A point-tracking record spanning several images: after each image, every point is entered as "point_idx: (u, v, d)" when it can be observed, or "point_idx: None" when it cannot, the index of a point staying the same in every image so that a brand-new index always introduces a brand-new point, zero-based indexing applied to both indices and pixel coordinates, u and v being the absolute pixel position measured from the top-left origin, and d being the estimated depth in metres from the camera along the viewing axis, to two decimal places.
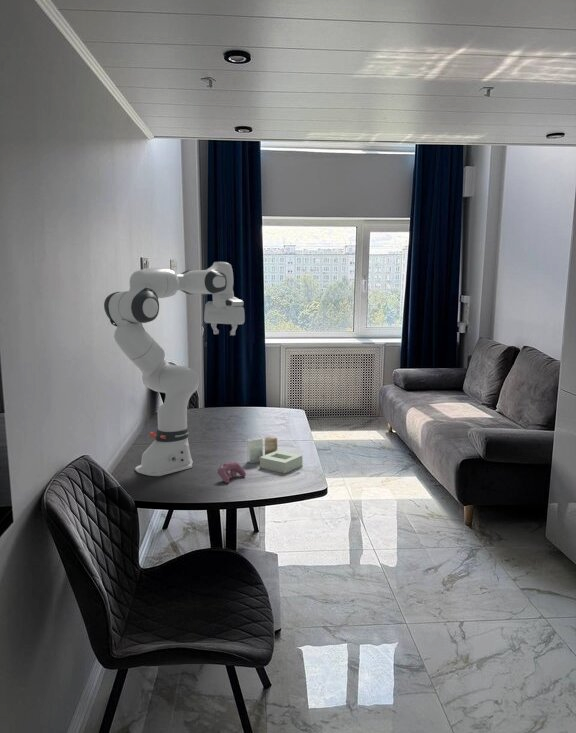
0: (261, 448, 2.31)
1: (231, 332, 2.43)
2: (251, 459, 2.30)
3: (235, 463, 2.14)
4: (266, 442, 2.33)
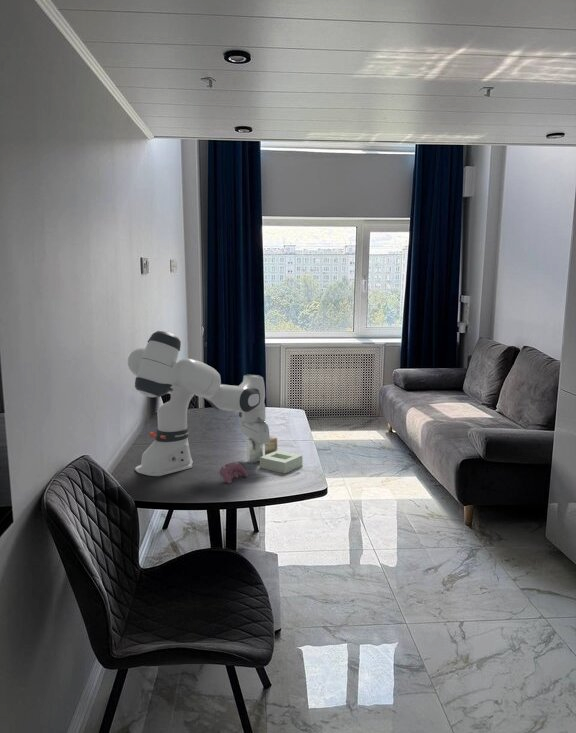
0: (261, 448, 2.31)
1: None
2: (251, 459, 2.30)
3: (237, 464, 2.13)
4: None
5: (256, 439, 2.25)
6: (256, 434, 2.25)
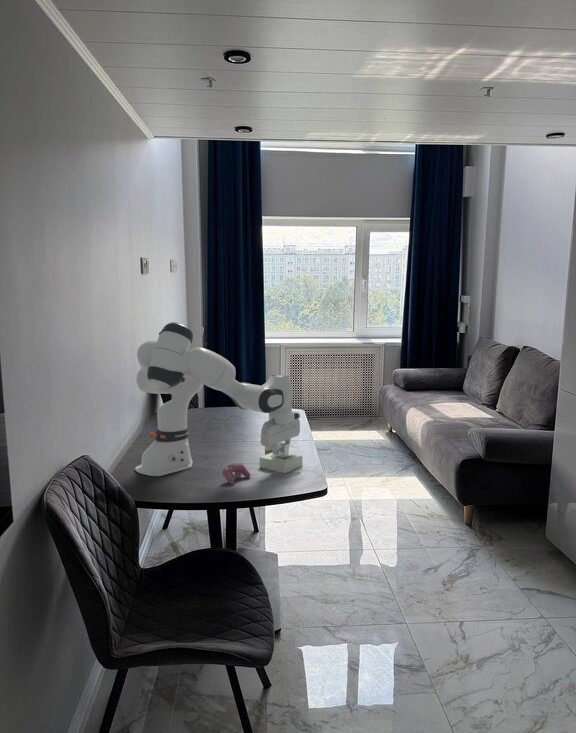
0: (283, 455, 2.22)
1: None
2: None
3: (240, 464, 2.12)
4: None
5: None
6: None
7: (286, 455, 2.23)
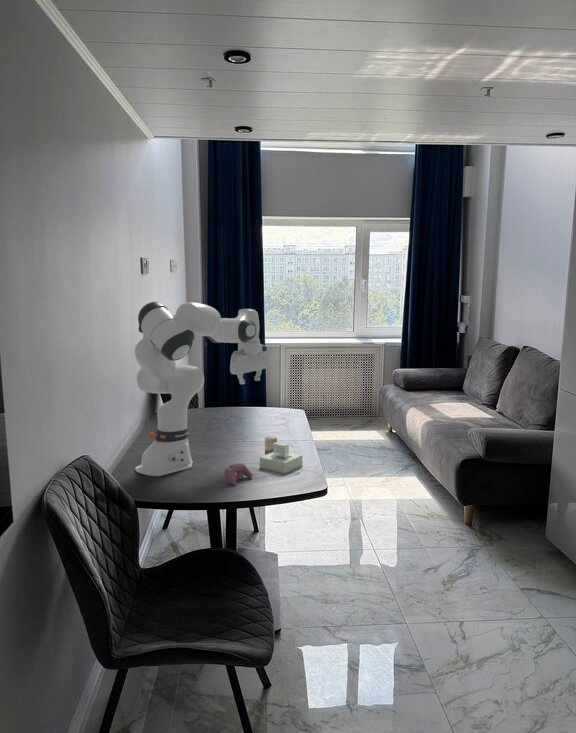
0: (283, 455, 2.22)
1: (259, 377, 2.44)
2: None
3: (242, 465, 2.12)
4: (266, 442, 2.33)
5: None
6: None
7: (286, 455, 2.23)
